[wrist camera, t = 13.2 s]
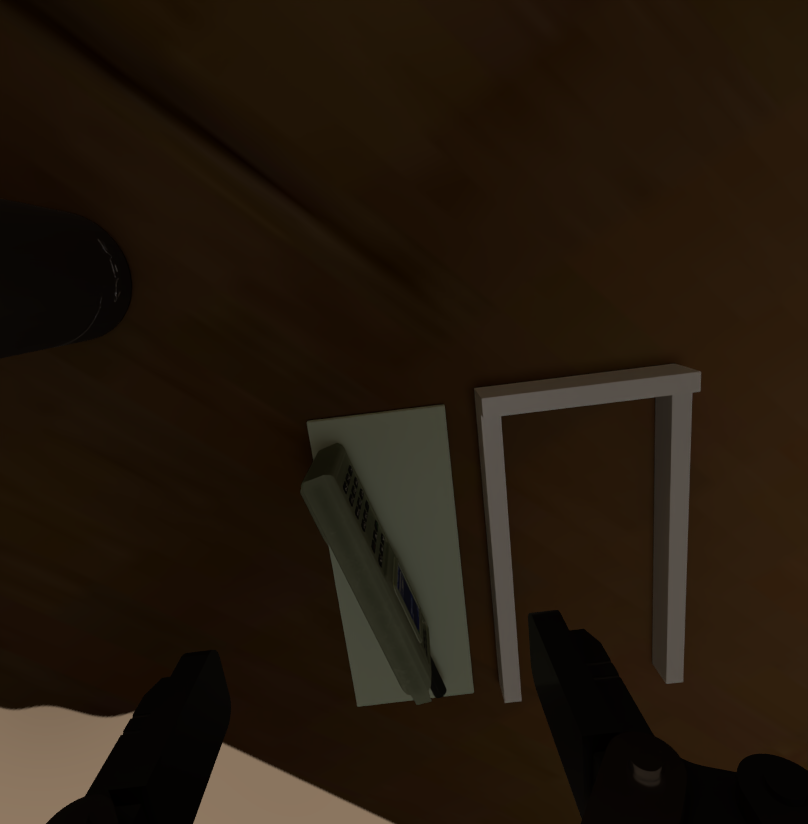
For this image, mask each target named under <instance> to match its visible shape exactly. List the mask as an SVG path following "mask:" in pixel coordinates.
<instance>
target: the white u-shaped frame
mask: <svg viewBox="0 0 808 824" xmlns="http://www.w3.org/2000/svg"><path fill="white" fill-rule="evenodd" d="M700 387H701V371H698V370H694V369H691V368H688V367H685V366H681V365H678V364H675V363H674V364H666V365H658V366H650V367H642V368H634V369H626V370H618V371H609V372H601V373H593V374H585V375H577V376H569V377H561V378H553V379H544V380H536V381H528V382H520V383H512V384H504V385H496V386H487V387H479V388H474V395H475V407H476V418H477V430H478V442H479V453H480V465H481V477H482V488H483V500H484V512H485V523H486V535H487V547H488V558H489V570H490V582H491V593H492V605H493V617H494V628H495V640H496V652H497V663H498V675H499V683H500V687H501V690H502V694H503V698H504V702H505V703H509V702H517V701H521V687H520V673H519V660H518V646H517V632H516V618H515V604H514V590H513V577H512V563H511V549H510V535H509V521H508V507H507V494H506V480H505V466H504V452H503V438H502V424H501V416H505V415H514V414H522V413H530V412H538V411H546V410H554V409H563V408H571V407H579V406H587V405H595V404H603V403H611V402H620V401H628V400H636V399H644V398H652V397H655V474H654V556H653V638H652V664H653V665H654V667H655V668H656V669H657V671H658V672H659V674H660V675H661V677H662V678H663V680H664V681H665V683H666V684H670V683H678V682H683V666H684V635H685V604H686V573H687V542H688V511H689V479H690V448H691V417H692V393H693V392H700Z"/></svg>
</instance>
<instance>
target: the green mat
mask: <svg viewBox="0 0 808 824" xmlns="http://www.w3.org/2000/svg"><path fill="white" fill-rule="evenodd" d="M307 427H308V433H309V439H310V444H311V450H312V455H313V461H314V459H315V457H316V455H317V453H318V451H319V450H321V449H323V448H326V447H328V446H330V445H333V444H335V443H339V444H341V445H343V447H344V448H345V450H346V452H347V454H348V457H349V459H350V461H351V463H352V465H353V467H354V469H355V471H356V473H357V476H358V478H359V480H360V482H361V484H362V486H363V488H364V490H365V492H366V494H367V497H368V499H369V501H370V503H371V505H372V507H373V509H374V511H375V513H376V516H377V518H378V520H379V522H380V524H381V526H382V528H383V530H384V532H385V535H386V537H387V539H388V541H389V543H390V545H391V547H392V549H393V551H394V554H395V556H396V558H398V560H399V563H400V565H401V567H402V569H403V571H404V573H405V575H406V578H407V580H408V582H409V584H410V586H411V588H412V590H413V593H414V595H415V597H416V599H417V601H418V603H419V605H420V607H421V612H422V614H423V617H424V619H425V621H426V623H427V625H428V627H429V636H430V655H431V657H432V659H433V661H434V663H435V666H436V668H437V670H438V672H439V674H440V676H441V678H442V680H443V682H444V684H445V687H446V689H447V691H446V694H445V695H444V696H452V695H460V694H469V693H474V688H473V678H472V669H471V659H470V649H469V639H468V630H467V620H466V610H465V600H464V591H463V581H462V571H461V561H460V552H459V542H458V532H457V522H456V512H455V503H454V493H453V483H452V473H451V464H450V454H449V444H448V434H447V425H446V415H445V406H444V404H441V405H433V406H425V407H416V408H408V409H400V410H392V411H384V412H376V413H368V414H359V415H351V416H343V417H335V418H327V419H319V420H311V421H307ZM328 545H329V544H328ZM329 550H330V556H331V561H332V567H333V573H334V578H335V584H336V589H337V595H338V600H339V606H340V612H341V617H342V623H343V628H344V634H345V640H346V645H347V651H348V656H349V662H350V667H351V673H352V679H353V684H354V690H355V695H356V701H357V706H358V707H359V706H367V705H376V704H384V703H393V702H401V701H410V700H413V698H412V697H411V695H407V694H406V693H405V692H404V691H403V690H402V688H401V686H400V684H399V682H398V680H397V678H396V676H395V674H394V672H393V671H392V669H391V667H390V665H389V663H388V661H387V659H386V657H385V655H384V653H383V651H382V649H381V647H380V645H379V643H378V641H377V639H376V637H375V635H374V633H373V631H372V629H371V627H370V625H369V623H368V621H367V619H366V617H365V615H364V613H363V611H362V609H361V607H360V605H359V603H358V601H357V599H356V597H355V595H354V593H353V591H352V589H351V587H350V585H349V583H348V581H347V579H346V577H345V575H344V573H343V571H342V569H341V567H340V565H339V563H338V561H337V560H336V558H335V556H334V554H333V552H332V550H331V548H330V546H329ZM429 695H430V698H435V696H434V695H433V693H432V691H431V689H429Z"/></svg>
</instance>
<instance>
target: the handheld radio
mask: <svg viewBox="0 0 808 824" xmlns="http://www.w3.org/2000/svg"><path fill="white" fill-rule="evenodd" d="M300 493H301V495H302V497H303V499H304V501H305V503H306V505H307V507H308V509H309V511H310V513H311V515H312V517H313V519H314V521H315V523H316V525H317V527H318V529H319V531H320V533H321V535H322V537H323V539H324V540H325V542H326V543H327V544H329V546H330V548H331V550H332V552H333V554H334V556H335V558H336V560H337V561H338V563H339V565H340V567H341V569H342V571H343V573H344V575H345V577H346V579H347V581H348V583H349V585H350V587H351V589H352V591H353V593H354V595H355V597H356V599H357V601H358V603H359V605H360V607H361V609H362V611H363V613H364V615H365V617H366V619H367V621H368V623H369V625H370V627H371V629H372V631H373V633H374V635H375V637H376V639H377V641H378V643H379V645H380V647H381V649H382V651H383V653H384V655H385V657H386V659H387V661H388V663H389V665H390V667H391V669H392V671H393V672H394V674H395V676H396V678H397V680H398V682H399V684H400V686H401V688H402V690H403V691H404V692H405V693H406V694H407V695H411V697H412V698H413V700H414V701H415V703H416V704H417V705H419V704H423V703H427V702H431V698H430V695H429V689H431V691H432V693H433V695H434V696H435V697H436V698H441V697H443V696H444V695H445V694H446V691H447V689H446V687H445V684H444V682H443V680H442V678H441V676H440V674H439V672H438V670H437V668H436V666H435V663H434V661H433V659H432V657H431V655H430V636H429V627H428V625H427V623H426V621H425V619H424V617H423V614H422V612H421V607H420V605H419V603H418V601H417V599H416V597H415V595H414V593H413V590H412V588H411V586H410V584H409V582H408V580H407V578H406V575H405V573H404V571H403V569H402V567H401V565H400V563H399V560H398V558H396V556H395V554H394V551H393V549H392V547H391V545H390V543H389V541H388V539H387V537H386V535H385V532H384V530H383V528H382V526H381V524H380V522H379V520H378V518H377V516H376V513H375V511H374V509H373V507H372V505H371V503H370V501H369V499H368V497H367V494H366V492H365V490H364V488H363V486H362V484H361V482H360V480H359V478H358V476H357V473H356V471H355V469H354V467H353V465H352V463H351V461H350V459H349V457H348V454H347V452H346V450H345V448H344V447H343V445H341V444H339V443H335V444H333V445H330V446H328V447H326V448H323V449H321V450H319V451H318V453H317V455H316V457H315V459H314V461H313V463H312V465H311V466H310V468H309V470H308V472H307V474H306V476H305V478H304V480H303V482H302V484H301V490H300Z"/></svg>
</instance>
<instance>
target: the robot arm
mask: <svg viewBox="0 0 808 824" xmlns="http://www.w3.org/2000/svg"><path fill="white" fill-rule="evenodd" d="M130 298H131V278H130V272H129V268H128V265H127V263H126V260H125V257H124V255H123V254H122V252H121V250H120V249H119V247H118V245H117V244H116V243H115V241H114V240H113V239H112V238H111V237H110V236H109V234H108V233H107V232H105V231H104V230H103V229H102V228H100V227H99V226H98V225H97V224H95V223H94V222H92V221H90V220H88V219H86V218H84V217H82V216H79V215H76V214H72V213H69V212H64V211H59V210H54V209H49V208H44V207H39V206H35V205H31V204H26V203H20V202H15V201H10V200H5V199H0V358H5V357H10V356H14V355H19V354H24V353H29V352H34V351H38V350H43V349H48V348H53V347H59V346H64V345H68V344H73V343H78V342H82V341H87V340H92V339H94V338H97V337H100V336H103V335H104V334H106V333H107V332H109V331H111V330H112V329H113V328H114V327H115V326H116V325H117V324H118V323H119V322H120V321H121V320H122V318H123V316H124V314H125V312H126V311H127V308H128V305H129V301H130ZM528 624H529V640H530V656H531V668H532V674H533V679H534V683H535V687H536V690H537V693H538V696H539V699H540V702H541V704H542V707H543V710H544V713H545V716H546V719H547V721H548V724H549V727H550V730H551V733H552V736H553V739H554V741H555V744H556V747H557V750H558V753H559V756H560V758H561V761H562V764H563V767H564V770H565V773H566V775H567V778H568V781H569V784H570V787H571V790H572V792H573V795H574V798H575V801H576V804H577V807H578V809H579V812H580V815H581V818H582V821H581V824H808V771H807V770H806V769H804V768H803V767H801V766H799V765H798V764H796V763H794V762H792V761H790V760H787V759H785V758H782V757H779V756H775V755H770V754H754V755H750V756H748V757H746V758H744V759H743V760H742V761H741V762H740V763H739V766H738V768H737V772H732V771H727V770H722V769H716V768H711V767H706V766H701V765H697V764H694V763H691V762H688V761H686V760H684V759H682V758H680V756H679V755H678V754H677V752H676V751H675V750H674V749H673V748H672V747H671V746H669V745H668V744H667V743H666V742H664V741H662V740H661V739H659V738H657V737H655V736H654V735H653V733H652V732H651V730H650V728H649V726H648V725H647V723H646V721H645V719H644V718H643V716H642V714H641V712H640V711H639V709H638V707H637V705H636V704H635V702H634V700H633V698H632V697H631V695H630V693H629V691H628V690H627V688H626V686H625V684H624V683H623V681H622V679H621V678H619V674H618V672H617V670H616V669H615V667H614V665H613V663H611V661H610V658H609V656H608V655H607V653H606V651H605V650H604V648H603V646H602V644H601V643H600V642H599V641H598V640H597V639H595V638H594V637H593V636H592V635H591V634H589V633H588V632H587V631H586V630H585V629H579V630H571V631H569V629H568V627H567V625H566V623H565V621H564V619H563V617H562V615H561V613H560V612H559V611H558V610H553V611H544V612H536V613H529V615H528ZM230 714H231V701H230V695H229V691H228V688H227V684H226V680H225V676H224V672H223V668H222V664H221V661H220V657H219V654H218V652H217V651H216V650H208V651H200V652H192V653H185V654H184V655H183V656H182V657H181V659H180V660H179V662H178V664H177V666H176V668H175V669H174V671H173V673H172V675H171V677H166V678H162V679H161V680H160V681H159V682H157V683H156V684H155V685H154V686H153V687H152V688H151V689H150V690H149V691H148V692H147V693H146V694H145V695H144V697H143V698H142V700H141V702H140V703H139V705H138V707H137V709H136V710H135V712H134V714H133V718H132V719H130V721H129V722H128V724H127V726H126V727H125V729H124V731H123V735H121V736H120V738H119V739H118V741H117V743H116V744H115V746H114V748H113V749H112V751H111V753H110V755H109V756H108V758H107V760H106V761H105V763H104V765H103V766H102V768H101V770H100V772H99V773H98V775H97V777H96V778H95V780H94V782H93V783H92V785H91V787H90V789H89V790H88V792H87V794H86V795H85V797H83V798H80V799H78V800H76V801H74V802H72V803H70V804H69V805H67V806H66V807H64V808H63V809H62V810H60V811H59V812H58V813H56V814H55V815H54V816H53V817H52V818H51V819H50V820H49V821H48V822H47V823H46V824H193V822H194V820H195V817H196V814H197V811H198V808H199V806H200V803H201V800H202V797H203V794H204V792H205V789H206V786H207V783H208V781H209V778H210V775H211V772H212V770H213V767H214V764H215V761H216V758H217V756H218V753H219V750H220V747H221V745H222V742H223V739H224V736H225V734H226V731H227V728H228V725H229V721H230Z"/></svg>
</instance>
